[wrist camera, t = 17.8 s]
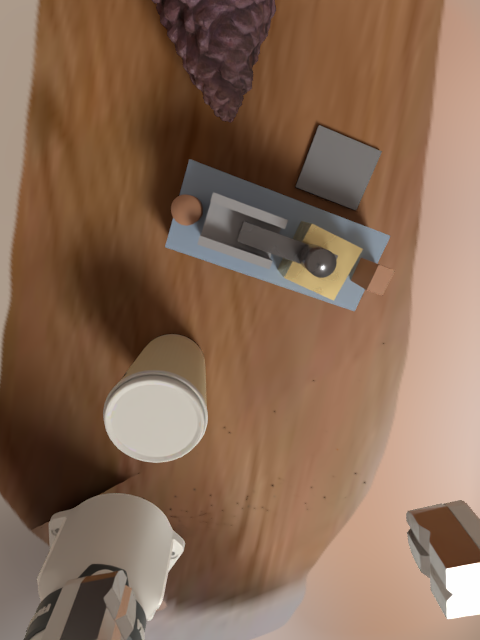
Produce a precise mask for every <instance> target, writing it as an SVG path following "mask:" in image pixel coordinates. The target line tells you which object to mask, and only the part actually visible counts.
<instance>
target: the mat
mask: <svg viewBox="0 0 480 640" xmlns="http://www.w3.org/2000/svg"><path fill="white" fill-rule="evenodd" d="M381 152H382V151H379V150H377V149H375V148H372V147H370V146H367V145H365V144H363V143H360V142H358V141H356V140H353V139H351V138H349V137H346V136H344V135H341V134H339V133H337V132H334V131H332V130H330V129H327V128H325V127H323V126H320V125H318V127H317V130H316V133H315V135H314V138H313V141H312V143H311V146H310V149H309V151H308V154H307V157H306V159H305V162H304V165H303V167H302V170H301V173H300V175H299V178H298V181H297V183H296V186H295V187H296V188H299V189H301V190H304V191H306V192H309V193H311V194H314V195H317V196H319V197H322V198H324V199H327V200H329V201H332V202H335V203H337V204H340V205H342V206H345V207H347V208H350V209H353V210H357V208H358V205H359V203H360V201H361V198H362V196H363V194H364V192H365V189H366V187H367V185H368V182H369V180H370V178H371V175H372V173H373V171H374V169H375V166H376V164H377V162H378V159H379V157H380V155H381Z"/></svg>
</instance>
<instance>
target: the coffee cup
mask: <svg viewBox="0 0 480 640" xmlns="http://www.w3.org/2000/svg"><path fill="white" fill-rule="evenodd" d="M103 417H104V423H105V428H106V431H107V434H108V436H109V437H110V439H111V441H112V442H113V443H114V444H115V445H116V446H117V448H118V449H120V450H121V451H122V452H124V453H125V454H127V455H129V456H131V457H133V458H135V459H138V460H141V461H146V462H167V461H171V460H175V459H177V458H180V457H182V456H183V455H185V454H187V453H188V452H189V451H191V450H192V449H193V448H194V447H195V446H196V445H197V444H198V442H199V441H200V440H201V438H202V437H203V435H204V433H205V430H206V427H207V422H208V413H207V407H206V374H205V360H204V356H203V353H202V351H201V349H200V348H199V347H198V345H197V344H196V343H195V342H194V341H192V340H191V339H189V338H187V337H185V336H182V335H177V334H167V335H163V336H160V337H157V338H155V339H154V340H152V341H151V342H150V343H149V344H148V345H147V346H146V347H145V348H144V349H143V351H142V352H141V353H140V355H139V356H138V357H137V359H136V360H135V361H134V363H133V364H132V365H131V367H130V368H129V369H128V371H127V372H126V373H125V375H124V376H123V377H122V379H121V380H120V381H119V383H118V384H116V385H115V387H114V388H113V389H112V390H111V392H110V393H109V395H108V397H107V399H106V402H105V405H104V411H103Z"/></svg>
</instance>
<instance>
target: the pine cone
mask: <svg viewBox="0 0 480 640" xmlns="http://www.w3.org/2000/svg"><path fill="white" fill-rule="evenodd" d="M152 1H153V2H154V3H157V7H156V8H157V11H158V14H159V15H160V22H161V24H162V25H163V26H164V27H165V28H166V29H168V31H167V36H168V37H169V38H170V40H171V41H172V42H173V43H174V44H175V48H176V51H177V54H178V55H179V56H181V57H182V59H183V67H184V69H185V70H186V71H187V72H188V74H189V75H190V79H191V81H192V83H193V84H194V85H196V87H197V88H198V89H200V90H201V91H202V92H203V99H204V102H205V103H206V104H208V105H210V107H211V109H213V110H214V114H215V115H216V116H217V117H220V118H221V120H222V121H228V122H232V121H233V118H235V117H236V114H237V112H238V109H239V107H240V106H241V105H242V101H243V99H244V98H243V95H244V94H245V93H247V91H250V90H251V89H252V80H253V71H252V67H253V65H254V64H255V63H256V62H257V61H258V55H259V53H260V45H261V43H262V42H263V41H264V40H265V38H266V37H267V36H268V31H269V28H270V22H271V18H272V17H273V16H274V14H275V11H276V6H275V0H152Z"/></svg>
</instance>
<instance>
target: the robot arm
mask: <svg viewBox="0 0 480 640" xmlns="http://www.w3.org/2000/svg"><path fill="white" fill-rule="evenodd" d="M406 516H407V517H406V518H407V522H408V524H409V526H410V530H409V531H408V532H407V534H408V542H409V546H410V549H411V552H412V555H413V557H414V559H415V561H416V563H417V565H418V567H419V569H420V571H421V572H422V573H423V574H425V575H426V576H427V577H429V578H430V582H431V591H432V593H433V595H434V597H435V598H436V600H437V602H438V604H439V606H440V608H441V609H442V611H443V613H444V614H445V617H446V618H447V619H451V618H457V617H464V616H470V615H476V614H480V519H479V518H478V517H477V516H476V514H475V513H474V512H473V511H472V509H471V508H470V507H469V506H468V505H467V503H465V502H464V501H462V500H459V501H455V502H450V503H446V504H437V505H433V506H428V507H424V508H420V509H415V510H411V511H408V512H407V514H406ZM49 539H50V551H49V553H48V555H47V558H46V560H45V562H44V564H43V566H42V569H41V571H40V574H39V575H38V578H37V583H38V593H39V596H40V600H41V603H40V604H39V606H38V608H37V611H36V613H35V615H34V616H33V618H32V619H31V621H30V624H29V626H28V628H27V630H26V632H27V633H26V635H25V638H24V640H144V632H145V627H146V620H148V621H150V620H152V618H153V616H154V614H155V611H156V609H159V607H160V605H161V603H162V600H163V596H164V591H165V586H166V581H167V576H168V572H169V570H170V569H171V568H172V566H173V565H174V564H175V562H176V561H177V559H178V558H179V557H180V555H181V554H182V552H183V550H184V546H185V542H184V540H183V539H182V538H181V537H180V536H179V535H178V534H177V533H176V532H174V531H173V529H172V528H171V525H170V523H169V521H168V519H167V517H166V516H165V515H164V513H163V512H162V511H161V510H160V509H159V508H158V507H156V506H155V505H154V504H152V503H151V502H149V501H147V500H145V499H142V498H140V497H137V496H133V495H128V494H120V493H112V494H103V495H99V496H95V497H92V498H90V499H88V500H86V501H84V502H82V503H81V504H79V505H78V506H76V507H75V508H73V509H70V510H66V511H61V512H58V513H55V514H54V515H53V516H52V517H51V520H50V522H49Z"/></svg>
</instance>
